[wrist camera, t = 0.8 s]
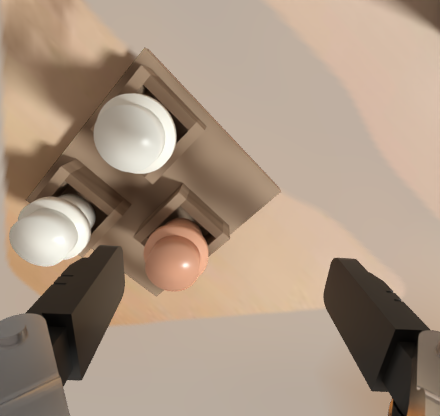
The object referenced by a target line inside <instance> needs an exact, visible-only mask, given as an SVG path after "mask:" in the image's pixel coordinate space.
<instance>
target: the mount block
mask: <svg viewBox="0 0 440 416" xmlns="http://www.w3.org/2000/svg"><path fill="white" fill-rule="evenodd" d="M131 93H136V94H143V95H147V96H149V97H152V98H153V99H155V100H157V101H158V102H160V103H161V104H162V105H163V106H164V107H165V108H166V109H167V111H168V112H169V113H170V115H171V117H172V119H173V121H174V124H175V127H176V134H177V140H176V146H175V149H174V151H173V154H172V155H171V157H170V158H169V159H168V161H167V162H166V163H165V164H164V165H163V166H162V167H160V168H159V169H157V170H155V171H153V172H150V173H145V174H135V173H130V172H124V171H121V170H118V169H116V168H114V167H112V166H111V165H109V164H108V163H107V162H106V161H105V160H104V159H103V158H102V157H101V155H100V154H99V152H98V150H97V148H96V146H95V142H94V126H95V123H96V121H97V118H98V115H99V113H100V111H101V109H102V108H103V106H104V105H105V104H106V103H107V102H108V101H109V100H111V99H112V98H114V97H116V96H119V95H122V94H131ZM280 192H281V190H280V189H279V187H278V186H277V185H276V184H275V183H274V182H273V181H272V180H271V178H270V177H269V176H268V175H267V174H266V173H265V172H264V171H263V170H262V169H261V168H260V167H259V166H258V165H257V164H256V163H255V161H254V160H253V159H252V158H251V157H250V156H249V155H248V154H247V153H246V152H245V151H244V150H243V149H242V148H241V147H240V146H239V145H238V144H237V142H236V141H235V140H234V139H233V138H232V137H231V136H230V135H229V134H228V133H227V132H226V131H225V130H224V129H223V128H222V126H220V124H218V123H217V121H216V120H215V119H214V118H213V117H212V116H211V115H210V114H209V113H208V112H207V111H206V110H205V109H204V107H203V106H202V105H201V104H200V103H199V102H198V101H197V100H196V99H195V98H194V97H193V96H192V95H191V94H190V93H189V92H188V90H187V89H186V88H185V87H184V86H183V85H182V84H181V83H180V82H179V81H178V80H177V79H176V78H175V77H174V76H173V75H172V74H171V72H170V71H169V70H167V68H166V67H165V66H164V65H163V64H162V63H161V62H160V61H159V60H158V59H157V58H156V57H155V56H154V54H153V53H152V52H151V51H150V50H149V49H146V48H144V49H143V50H142V52H141V53H140V54H139V56H138V57H137V58H136V59H135V61H134V62H133V63H132V65H131V66H130V67H129V68H128V70H127V71H126V72H125V74H124V75H123V76H122V77H121V79H120V80H119V81H118V83H117V84H116V85H115V86H114V88H113V89H112V90H111V91H110V93H109V94H108V95H107V97H106V98H105V99H104V100H103V102H102V103H101V104H100V106H99V107H98V108H97V109H96V111H95V112H94V113H93V115H92V116H91V117H90V118H89V120H88V121H87V122H86V124H85V125H84V126H83V127H82V129H81V130H80V131H79V133H78V134H77V135H76V136H75V138H74V139H73V140H72V142H71V143H70V144H69V145H68V147H67V148H66V149H65V151H64V152H63V153H62V154H61V156H60V157H59V158H58V160H57V161H56V162H55V163H54V165H53V166H52V167H51V169H50V170H49V171H48V172H47V174H46V175H45V176H44V178H43V179H42V180H41V181H40V183H39V184H38V185H37V187H36V188H35V189H34V190H33V192H32V193H31V194H30V196H29V197H28V198H27V199H26V201H28V202H29V203H32V202H33V201H35V200H37V199H39V198H42V197H59V196H61V195H64V194H74V195H78V196H80V197H82V198H84V199H85V200H87V201H88V202H89V203H90V204H91V206H92V207H93V209H94V211H95V216H96V220H95V224H94V225H93V227H92V228H91V238H90V241H89V243H88V244H87V245H86V247H85V248H84V249H83V250H82V251H81V252H80V253H79V254H78V255H80V256H81V257H83V256H84V255H85V254H86V253H87V252H88V251H89V250H90V249H93V250H94V251H95V249H96V248H97V247H98V246H99V245H110V246H121V247H122V250H123V261H124V273H125V274H126V275H128V276H129V277H130V278H132V279H133V280H135V281H136V282H137V283H139V284H140V285H141V286H143V287H144V288H145V289H147V290H148V291H149V292H151V293H152V294H153V295H155V296H156V297H157V296H158V295H159V294H160V293H161V292H162V291H164V290H163V289H161V288H159V287H157V286H156V285H154V284H153V283H152V282H151V281H150V280H149V278H148V276H147V274H146V271H145V264H146V263H145V260H144V254H143V253H144V247H145V244H146V242H147V240H148V238H149V237H150V235H151V234H152V233H153V231H155V230H156V229H157V228H159V227H161V226H163V225H165V224H166V223H167V222H168V221H170V220H172V219H175V218H185V219H189V220H191V221H193V222H194V223H196V224H197V225H198V226H199V228H200V229H201V232H202V236H203V237H204V238H205V240H206V242H207V245H208V250H209V254H208V257H209V256H210V255H211V254H212V253H214V252H215V251H216V250H217V249H218V248H220V247H221V246H222V245H223V244H224V243H225V242H227V241H228V240H229V239H230V234H231V233H233V232H234V231H235V230H236V229H237V228H238V227H240V226H241V225H242V224H243V223H244V222H246V221H247V220H248V219H249V218H250V217H252V216H253V215H254V214H255V213H256V212H257V211H259V210H260V209H261V208H262V207H263V206H265V205H266V204H267V203H268V202H269V201H271V200H272V199H273V198H274V197H275V196H276V195H278V194H279V193H280Z"/></svg>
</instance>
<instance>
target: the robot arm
mask: <svg viewBox="0 0 440 416" xmlns="http://www.w3.org/2000/svg"><path fill="white" fill-rule="evenodd" d="M124 287H125V276H124V261H123V250H122V247H121V246H110V245H99V246H98V247H97V248H96V249H95V251H94V252H93V253H92V254H91V255H90V256H89V258H81V259H80V260H78V261H76V262H74V263H73V264H71V265H69V267H68V268H67V269H66V270H65V271H64V272H63V273H62V274H61V277H58V278H57V280H56V281H55V282H54V284H53V285H51V286H50V287H49V288H48V289H47V290H46V291H45V293H44V294H43V295H42V296H41V297H40V298H39V299H38V300H37V301H36V302H35V303H34V305H33V306H32V307H31V308H30V309H29V310H28V311H27V312H26V313H25V314H19V315H15V316H11V317H8V318H6V319H3V320H1V321H0V416H70V414H69V410H68V406H67V402H66V397H65V393H64V389H63V386H64V385H65V383H66V381H67V380H82V378H83V377H84V375H85V372H86V370H87V368H88V366H89V364H90V362H91V360H92V358H93V356H94V354H95V352H96V350H97V348H98V346H99V344H100V342H101V340H102V338H103V335H104V334H105V332H106V330H107V328H108V326H109V324H110V322H111V319H112V317H113V315H114V313H115V311H116V309H117V307H118V305H119V303H120V301H121V299H122V296H123V293H124ZM324 304H325V307H326V309H327V311H328V313H329V315H330V316H331V318H332V320H333V322H334V324H335V326H336V327H337V329H338V331H339V333H340V335H341V336H342V338H343V340H344V342H345V344H346V345H347V347H348V349H349V351H350V353H351V354H352V356H353V358H354V360H355V362H356V363H357V365H358V367H359V369H360V371H361V372H362V374H363V376H364V378H365V380H366V381H367V384H368V385H369V387H370V389H371V391H380V392H389V393H390V395H391V396H392V399H391V402H390V405H389V409H388V416H440V332H439V331H434V330H430V329H429V328H428V327H427V326H426V325H425V324H424V323H423V322H422V321H421V320H420V319H419V317H417V315H416V314H415V313H413V311H412V310H411V309H410V308H409V307H408V306H407V305H406V304H405V303H404V302H401V299H400V298H399V297H398V296H397V295H396V294H395V293H393V291H392V290H391V289H390V288H389V286H388V285H387V284H386V283H385V282H384V281H382V280H381V279H379V278H378V277H376V276H374V275H373V274H371V273H369V272H368V271H367V270H366V269H365V268H364V267H363V266H362V265H361V264H360V263H359V262H358V261H357V260H356V259H348V258H334V259H333V260H332V262H331V265H330V269H329V273H328V277H327V281H326V285H325V289H324Z"/></svg>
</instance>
